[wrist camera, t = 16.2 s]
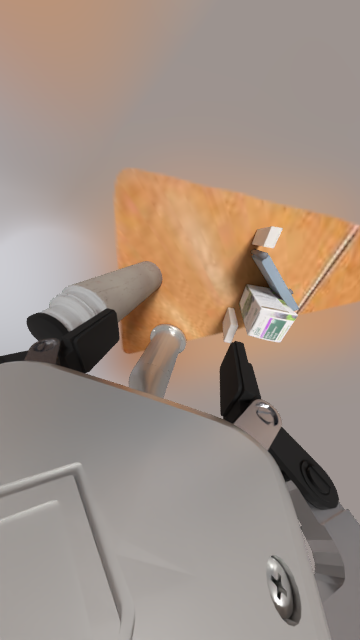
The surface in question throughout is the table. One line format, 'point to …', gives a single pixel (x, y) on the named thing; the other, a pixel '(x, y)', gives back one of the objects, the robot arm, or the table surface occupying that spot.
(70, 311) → the thermos bottle
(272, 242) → the wall
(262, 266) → the door
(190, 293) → the table surface
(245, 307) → the syrup box
